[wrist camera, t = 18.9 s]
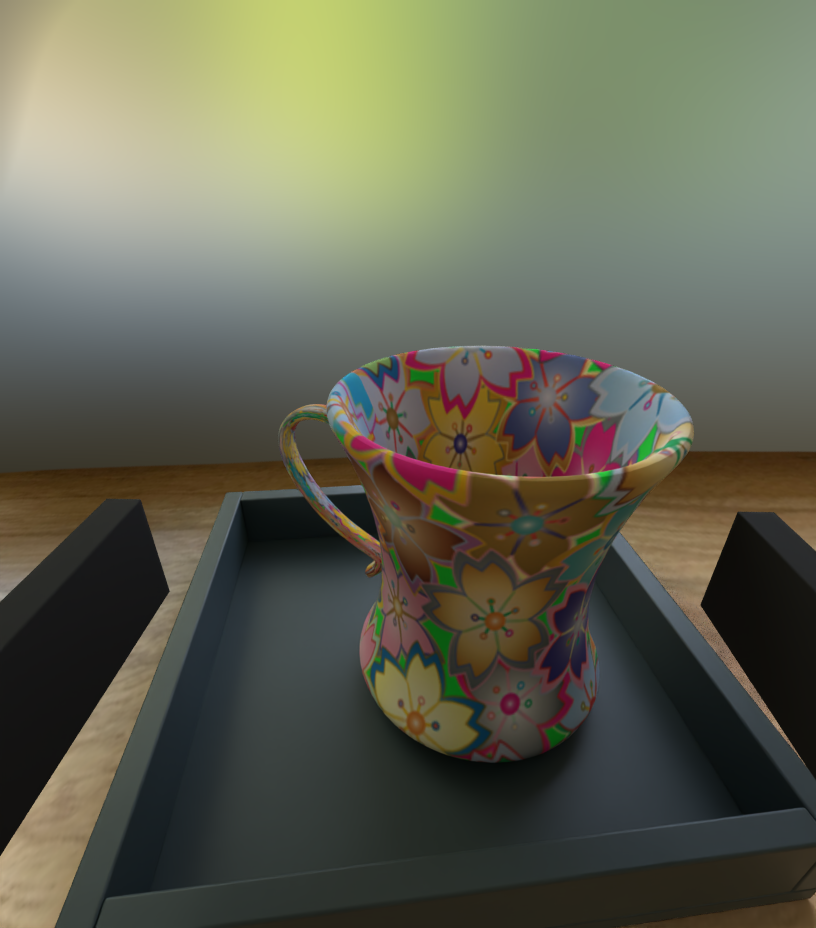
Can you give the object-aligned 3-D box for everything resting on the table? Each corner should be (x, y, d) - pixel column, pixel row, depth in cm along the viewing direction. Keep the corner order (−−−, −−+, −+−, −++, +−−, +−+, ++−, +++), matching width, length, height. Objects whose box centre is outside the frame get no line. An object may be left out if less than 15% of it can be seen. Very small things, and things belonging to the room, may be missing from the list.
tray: (93, 1005, 11) (42, 953, 9) (236, 542, 25) (225, 492, 24) (811, 899, 13) (866, 839, 11) (563, 521, 27) (573, 473, 26)
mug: (611, 609, 21) (679, 363, 15) (598, 851, 13) (724, 528, 8) (355, 542, 24) (341, 327, 19) (232, 698, 17) (155, 416, 12)
